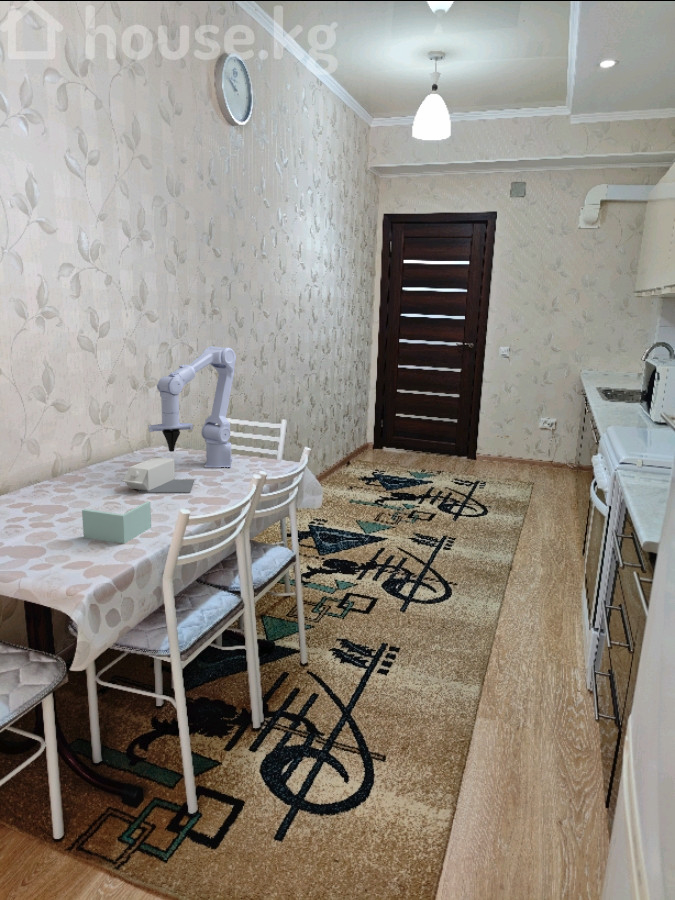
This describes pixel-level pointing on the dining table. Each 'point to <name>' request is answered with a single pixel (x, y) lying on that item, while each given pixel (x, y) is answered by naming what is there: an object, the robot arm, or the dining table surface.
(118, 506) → the dining table surface
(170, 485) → the mat
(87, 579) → the dining table surface
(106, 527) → the l-shaped corner panel
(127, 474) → the milk carton
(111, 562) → the dining table surface
